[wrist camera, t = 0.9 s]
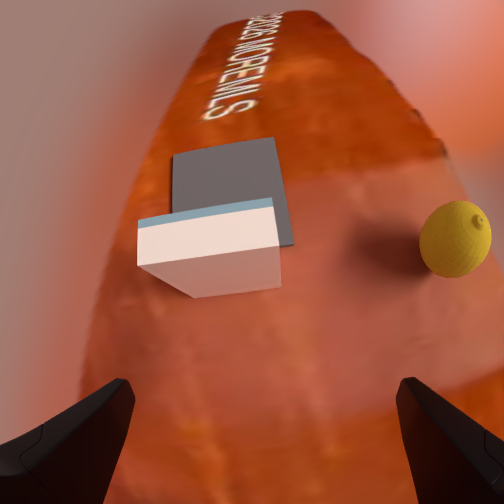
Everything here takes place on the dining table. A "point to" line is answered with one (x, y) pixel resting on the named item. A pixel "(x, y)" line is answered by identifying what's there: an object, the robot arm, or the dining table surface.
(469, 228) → the lemon
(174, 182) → the mat
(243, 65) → the dining table surface
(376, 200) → the dining table surface
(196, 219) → the white rectangular block
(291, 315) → the dining table surface
